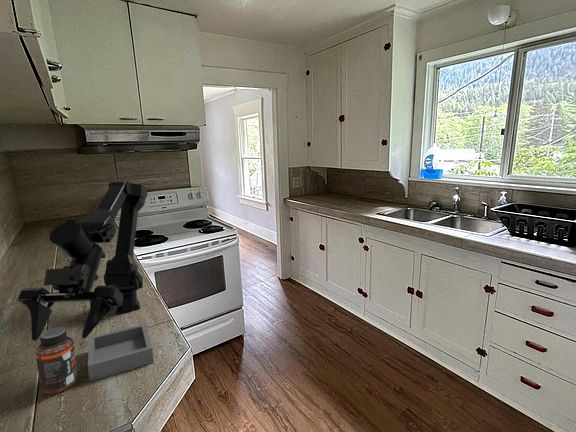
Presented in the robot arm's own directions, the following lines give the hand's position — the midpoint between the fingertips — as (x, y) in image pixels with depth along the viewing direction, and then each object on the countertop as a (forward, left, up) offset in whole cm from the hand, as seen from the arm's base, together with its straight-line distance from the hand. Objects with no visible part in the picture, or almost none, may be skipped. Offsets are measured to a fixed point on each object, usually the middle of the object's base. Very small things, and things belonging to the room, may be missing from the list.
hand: (59, 339), depth 62 cm
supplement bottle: (+1, -1, -9) cm, 9 cm away
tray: (-3, +10, -9) cm, 14 cm away
